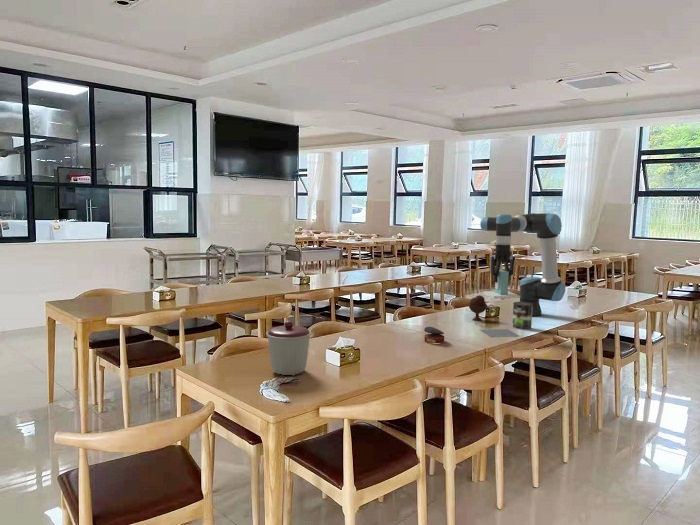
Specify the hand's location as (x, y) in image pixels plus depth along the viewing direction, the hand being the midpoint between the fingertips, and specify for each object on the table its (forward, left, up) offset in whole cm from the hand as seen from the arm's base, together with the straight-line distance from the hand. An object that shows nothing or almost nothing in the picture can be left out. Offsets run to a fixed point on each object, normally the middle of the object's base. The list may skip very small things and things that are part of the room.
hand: (501, 288), depth 273 cm
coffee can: (-18, -11, -25) cm, 32 cm away
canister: (+112, +51, -25) cm, 125 cm away
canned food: (+39, +11, -25) cm, 48 cm away
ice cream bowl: (-1, -34, -25) cm, 42 cm away
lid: (0, 0, -4) cm, 4 cm away
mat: (0, 0, -25) cm, 25 cm away
